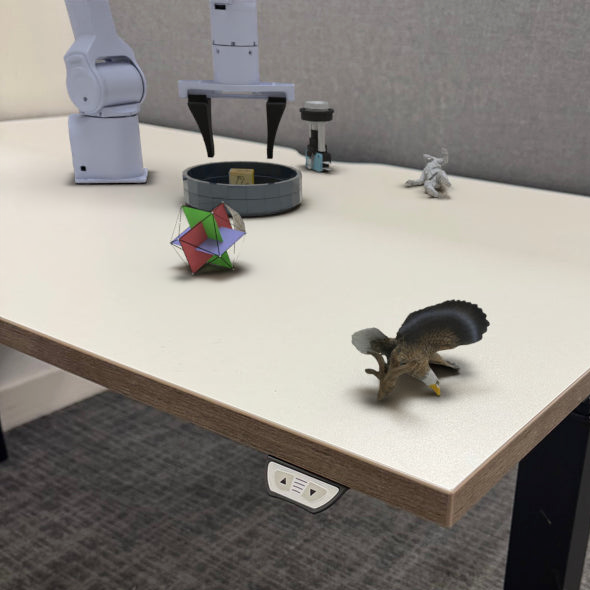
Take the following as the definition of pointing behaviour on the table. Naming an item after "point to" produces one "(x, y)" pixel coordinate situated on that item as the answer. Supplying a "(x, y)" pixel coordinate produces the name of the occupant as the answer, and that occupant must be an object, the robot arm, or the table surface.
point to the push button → (317, 134)
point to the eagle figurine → (421, 342)
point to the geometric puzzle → (209, 236)
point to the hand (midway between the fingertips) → (240, 156)
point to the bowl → (243, 188)
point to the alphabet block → (241, 176)
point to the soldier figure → (433, 174)
